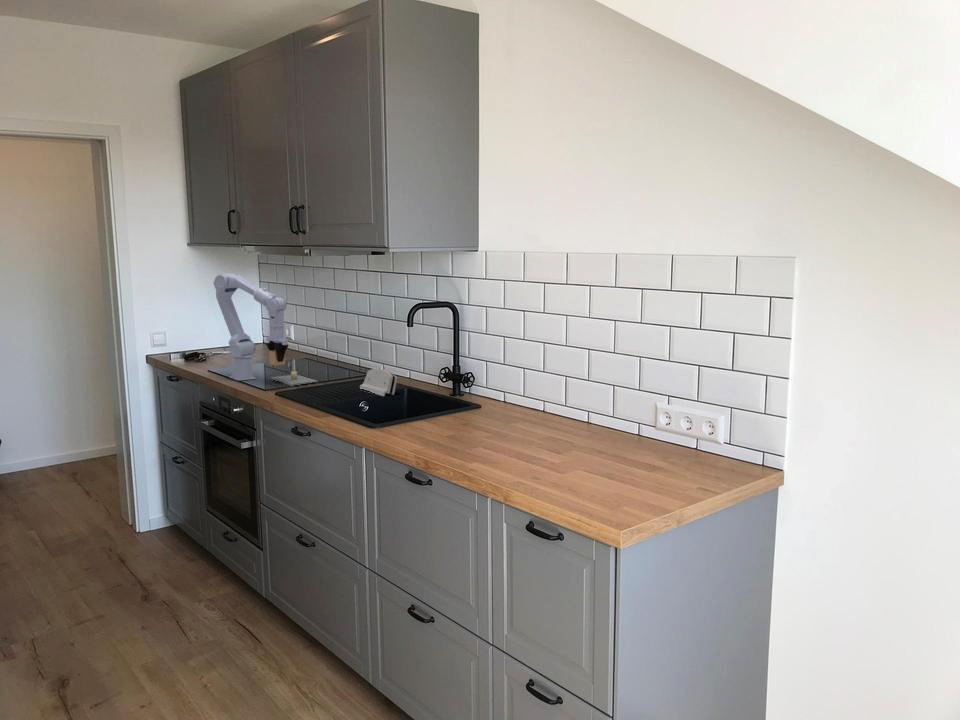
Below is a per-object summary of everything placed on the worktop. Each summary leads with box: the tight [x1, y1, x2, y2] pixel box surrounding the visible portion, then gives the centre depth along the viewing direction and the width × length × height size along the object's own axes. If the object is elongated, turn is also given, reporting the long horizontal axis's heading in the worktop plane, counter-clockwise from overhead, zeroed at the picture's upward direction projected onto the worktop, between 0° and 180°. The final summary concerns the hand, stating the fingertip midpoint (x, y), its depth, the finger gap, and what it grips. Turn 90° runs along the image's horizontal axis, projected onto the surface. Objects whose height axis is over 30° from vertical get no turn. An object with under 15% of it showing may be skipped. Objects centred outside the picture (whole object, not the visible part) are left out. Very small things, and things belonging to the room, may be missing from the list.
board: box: [269, 370, 319, 387], centre depth 326 cm, size 18×12×4 cm, turn 42°
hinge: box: [359, 368, 398, 397], centre depth 309 cm, size 17×5×10 cm, turn 43°
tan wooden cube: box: [268, 350, 286, 366], centre depth 322 cm, size 5×5×6 cm
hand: (277, 360), depth 322 cm, fingers closed on tan wooden cube, 5 cm apart
